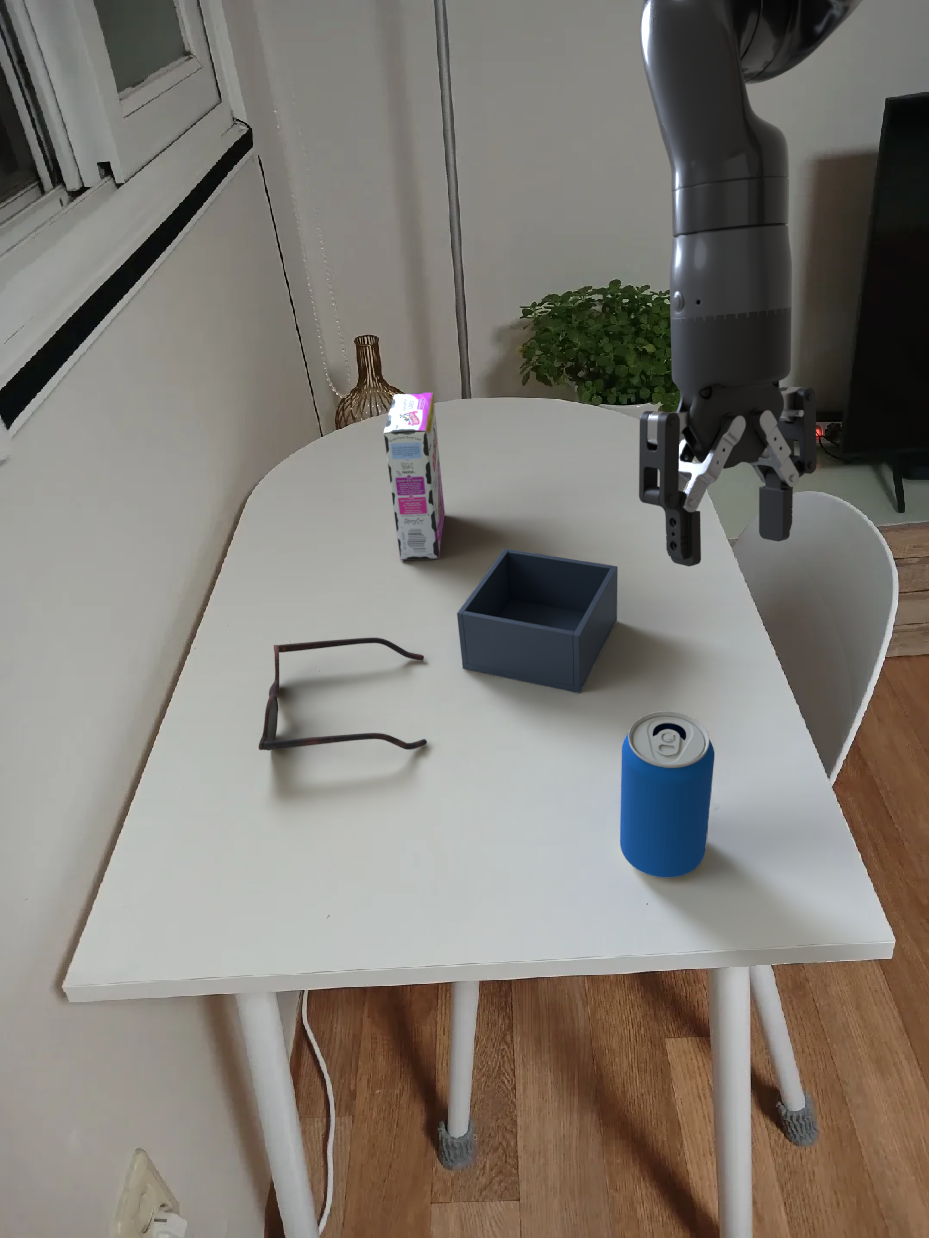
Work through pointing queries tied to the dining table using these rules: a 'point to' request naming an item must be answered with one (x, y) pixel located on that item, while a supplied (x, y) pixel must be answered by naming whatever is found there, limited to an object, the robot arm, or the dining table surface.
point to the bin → (539, 619)
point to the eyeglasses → (271, 729)
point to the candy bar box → (415, 475)
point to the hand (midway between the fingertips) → (731, 551)
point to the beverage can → (665, 793)
